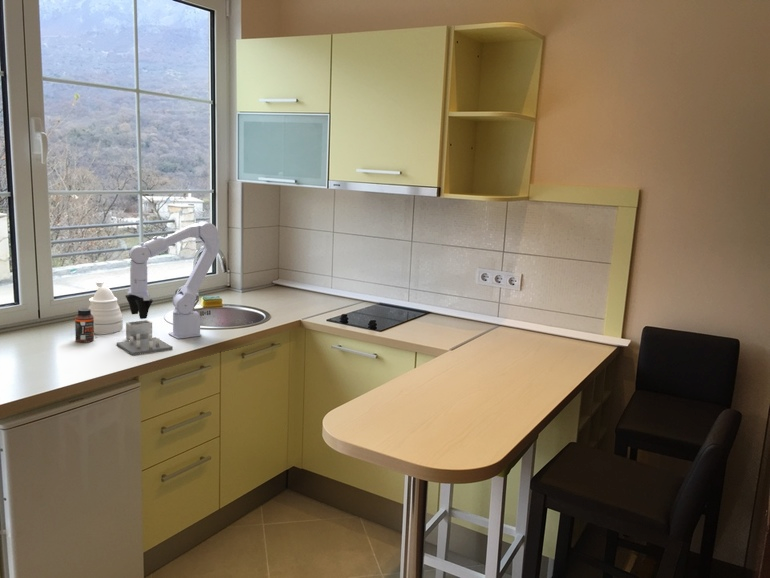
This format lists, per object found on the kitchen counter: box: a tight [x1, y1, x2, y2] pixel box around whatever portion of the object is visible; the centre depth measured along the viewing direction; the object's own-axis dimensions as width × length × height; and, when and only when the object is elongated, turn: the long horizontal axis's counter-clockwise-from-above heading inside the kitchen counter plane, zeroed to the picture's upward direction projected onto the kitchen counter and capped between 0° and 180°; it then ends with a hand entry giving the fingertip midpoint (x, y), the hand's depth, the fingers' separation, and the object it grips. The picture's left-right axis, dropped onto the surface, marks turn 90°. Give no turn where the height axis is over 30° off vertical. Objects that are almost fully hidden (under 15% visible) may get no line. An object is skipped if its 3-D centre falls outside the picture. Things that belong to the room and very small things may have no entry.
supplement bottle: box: [74, 307, 95, 343], centre depth 227 cm, size 6×6×11 cm
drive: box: [125, 319, 153, 341], centre depth 235 cm, size 8×4×6 cm, turn 133°
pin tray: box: [116, 333, 173, 356], centre depth 224 cm, size 14×14×4 cm
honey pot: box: [87, 280, 124, 334], centre depth 242 cm, size 13×13×18 cm
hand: (138, 316), depth 234 cm, fingers open, 7 cm apart
